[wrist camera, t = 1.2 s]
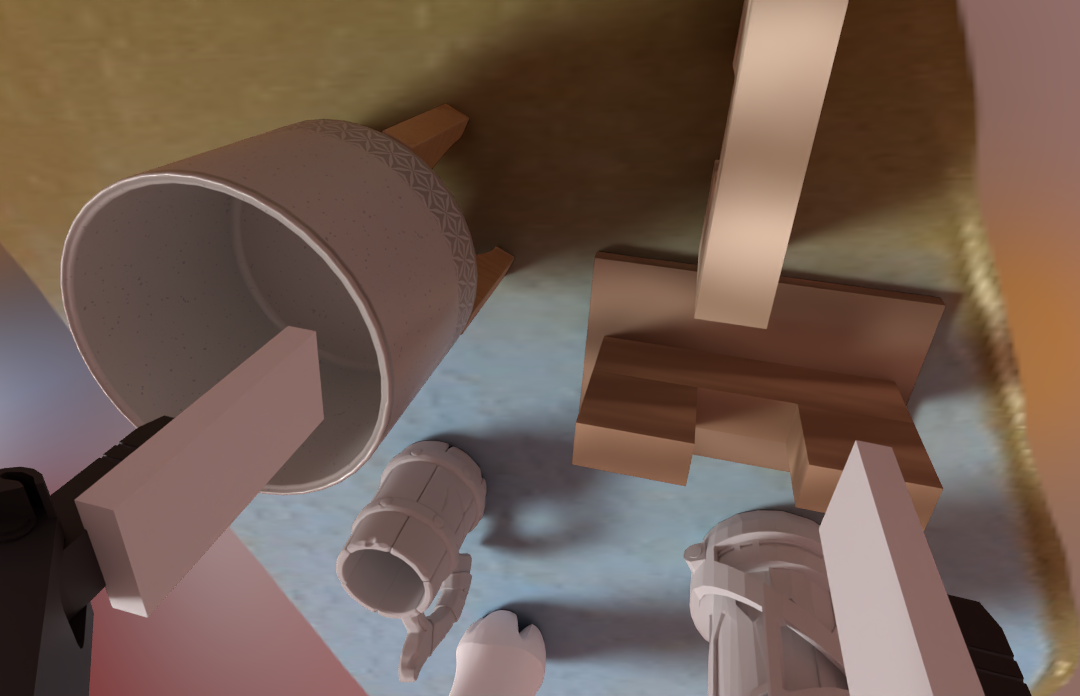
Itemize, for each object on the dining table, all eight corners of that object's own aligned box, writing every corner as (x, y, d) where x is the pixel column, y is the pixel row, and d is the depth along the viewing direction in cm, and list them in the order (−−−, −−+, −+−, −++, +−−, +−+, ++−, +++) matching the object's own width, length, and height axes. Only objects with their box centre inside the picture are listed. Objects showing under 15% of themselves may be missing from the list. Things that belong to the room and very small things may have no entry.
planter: (289, 242, 42) (46, 388, 27) (352, 46, 35) (76, 92, 20) (466, 346, 43) (327, 545, 27) (561, 172, 36) (446, 309, 21)
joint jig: (597, 251, 38) (562, 329, 29) (940, 297, 34) (1013, 400, 26) (579, 424, 43) (546, 531, 35) (871, 477, 40) (912, 609, 32)
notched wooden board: (753, -53, 29) (766, -66, 22) (824, -49, 29) (863, -62, 21) (699, 247, 36) (694, 318, 28) (755, 254, 36) (766, 329, 28)
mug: (469, 429, 46) (398, 557, 36) (522, 556, 50) (473, 702, 40) (376, 442, 48) (284, 565, 38) (435, 562, 53) (367, 700, 43)
